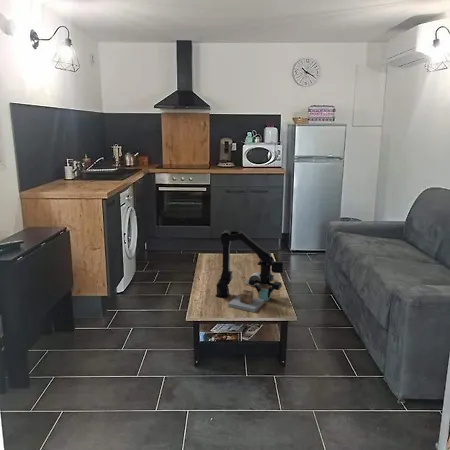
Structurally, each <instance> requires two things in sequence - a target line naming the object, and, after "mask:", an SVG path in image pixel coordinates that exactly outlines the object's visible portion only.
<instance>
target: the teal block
mask: <svg viewBox="0 0 450 450" xmlns="http://www.w3.org/2000/svg"><path fill="white" fill-rule="evenodd" d="M258 298H259V299H263V300H264V302H267V301H269V300H270V299H271V297H270V298H268V288H267V289H266V288H261V290H260V291H259V294H258Z"/></svg>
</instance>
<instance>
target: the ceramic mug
mask: <svg viewBox="0 0 450 450" xmlns="http://www.w3.org/2000/svg"><path fill="white" fill-rule="evenodd" d="M252 277H254V278H258V279H259V281H260V272H254V273H252V274H251V275H250V277H248V279H247V280H245V281H244V283H245V284H246V285H249V280H250V279H251V278H252ZM250 286H251V287H254V285H250ZM254 288H255V287H254Z"/></svg>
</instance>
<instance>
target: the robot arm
mask: <svg viewBox="0 0 450 450" xmlns="http://www.w3.org/2000/svg"><path fill="white" fill-rule="evenodd" d="M233 241H241V242H242V243H243V244H245V246H247V247H248V248H249V249H250V250H252V251H253V252H254V253H255V254H256V255H257V258H258V259H259V261H258V262H257V263H256V265H258V266H260V272H259V273H260V281H259V279H258V278H254V277H252V278H251V279H250V280H249V284H248V285H250V286H251V285H254V289H255V290H256V292H257V293H258V295H259V291H260V290H262V285H263V286H268V287H269V288H267V290H268V298H270V299H271V295H272V293H273V291H274V290H276V291H280V289H281V288H282V287H283V284H282V282H280V281H276V280H275V281H274V276H275V275H273V274H284V261H275V259H274V258H273V256H272V252H271V251H270V250H269V249H267V248H265V247H262V246H261V245H259V244H258V243H257V242H255V241H254V240H253V239H252V238H251V237H250V236H248V235H247V234H246V233H245V232H244V231H241V230H240V231H236V230H228V229H225V230H224V231H222V233H221V235H220V242H221V245H222V271H221V275H220V278H219V280H218V282H217V283H216V294H215V297H218V298H220V299H221V298H222V299H227V297H229V296H230V288H229V285H230V283H231V281H232V280H233V270H232V271H231V269H230V263H231V262H230V261H231V260H230V259H231V257H230V256H231V255H230V254H231V253H230V251H231V249H230V248H231V243H232V242H233ZM271 271H272V272H271ZM272 273H273V274H272ZM272 281H274V282H272Z"/></svg>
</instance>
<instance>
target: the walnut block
mask: <svg viewBox="0 0 450 450" xmlns="http://www.w3.org/2000/svg"><path fill="white" fill-rule="evenodd" d="M239 295H240V302H241V303H246V304H250V303H251V302H252V301H253V297H254V291H253V290H252V291H251V290H248V289H244V290H242V291H241V292H240V294H239Z"/></svg>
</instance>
